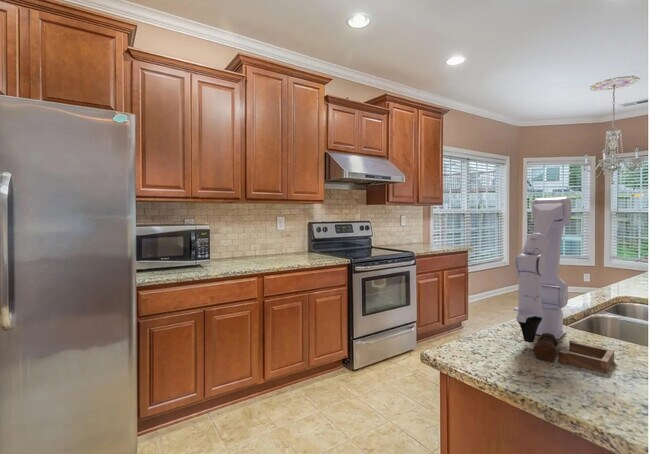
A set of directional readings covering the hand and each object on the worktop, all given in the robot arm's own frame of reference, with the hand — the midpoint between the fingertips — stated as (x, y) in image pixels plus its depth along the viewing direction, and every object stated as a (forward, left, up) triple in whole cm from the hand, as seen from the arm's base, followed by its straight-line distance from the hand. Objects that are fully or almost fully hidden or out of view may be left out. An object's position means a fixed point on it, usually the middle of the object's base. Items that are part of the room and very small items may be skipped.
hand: (528, 341), depth 101 cm
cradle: (0, +13, -2) cm, 13 cm away
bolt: (0, +5, -2) cm, 5 cm away
